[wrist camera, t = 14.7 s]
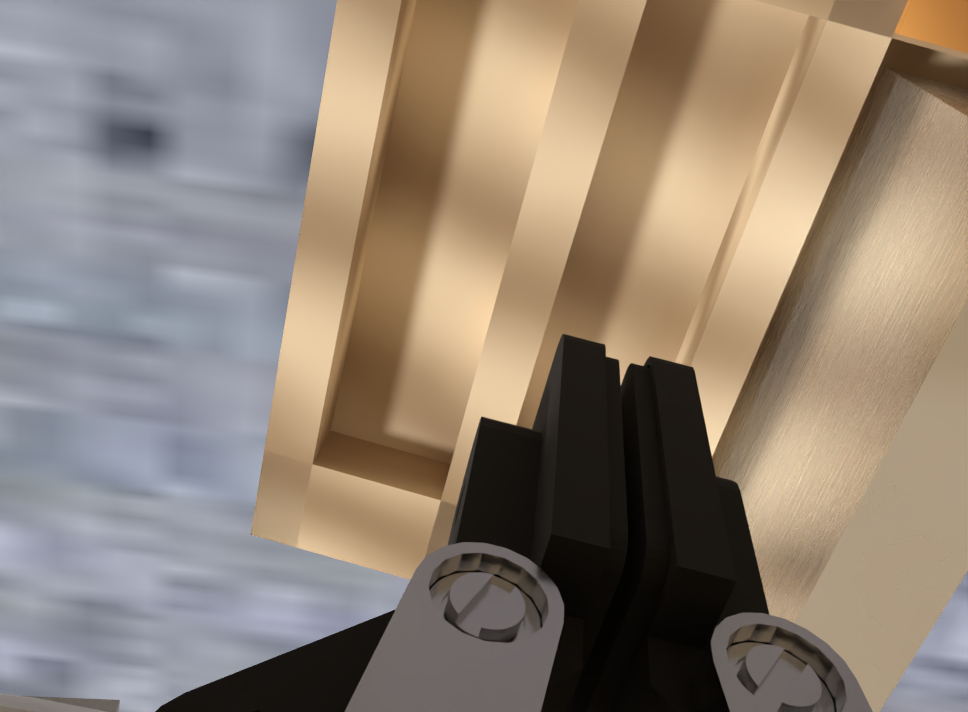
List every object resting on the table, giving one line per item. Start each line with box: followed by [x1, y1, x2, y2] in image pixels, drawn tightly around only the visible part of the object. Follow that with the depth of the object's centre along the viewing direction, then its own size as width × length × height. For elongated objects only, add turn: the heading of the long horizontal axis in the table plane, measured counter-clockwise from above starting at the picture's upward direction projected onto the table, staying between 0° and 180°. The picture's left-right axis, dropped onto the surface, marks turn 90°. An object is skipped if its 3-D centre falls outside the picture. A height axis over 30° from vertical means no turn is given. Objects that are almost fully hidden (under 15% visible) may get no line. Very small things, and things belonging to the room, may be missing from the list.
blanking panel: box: [713, 67, 968, 712], centre depth 22 cm, size 14×3×10 cm, turn 166°
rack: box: [251, 0, 968, 580], centre depth 26 cm, size 22×18×3 cm
